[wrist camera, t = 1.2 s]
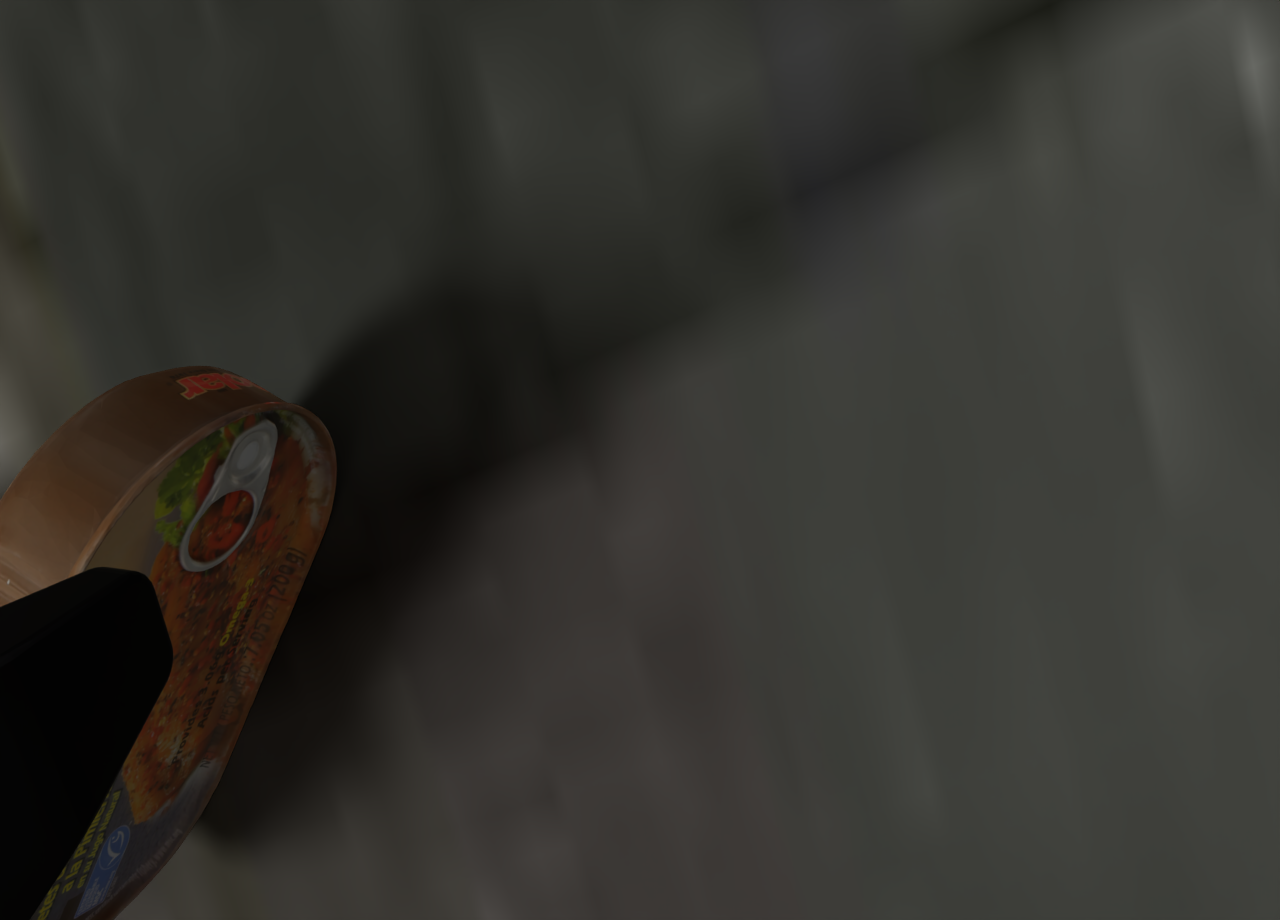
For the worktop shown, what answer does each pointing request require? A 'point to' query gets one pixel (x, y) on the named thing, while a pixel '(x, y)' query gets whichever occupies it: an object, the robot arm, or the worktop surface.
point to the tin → (174, 582)
